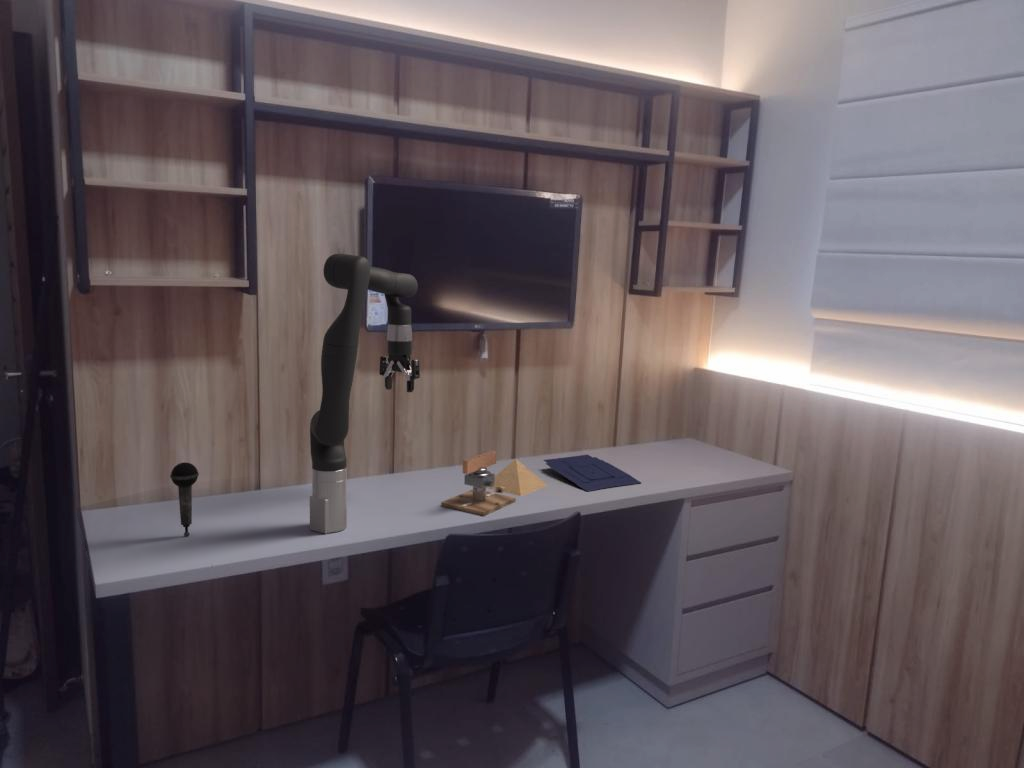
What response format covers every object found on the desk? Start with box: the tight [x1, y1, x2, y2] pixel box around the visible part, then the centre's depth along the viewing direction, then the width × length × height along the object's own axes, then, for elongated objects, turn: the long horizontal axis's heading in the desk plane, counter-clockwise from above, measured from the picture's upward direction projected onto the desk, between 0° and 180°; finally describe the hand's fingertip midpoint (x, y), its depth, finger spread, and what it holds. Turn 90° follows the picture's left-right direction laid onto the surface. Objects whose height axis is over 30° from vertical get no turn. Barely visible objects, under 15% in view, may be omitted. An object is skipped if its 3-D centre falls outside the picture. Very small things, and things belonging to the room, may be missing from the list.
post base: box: [440, 486, 517, 517], centre depth 232 cm, size 18×16×9 cm
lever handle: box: [462, 450, 497, 488], centre depth 231 cm, size 10×16×9 cm, turn 148°
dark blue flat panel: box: [543, 454, 642, 492], centre depth 267 cm, size 24×30×4 cm
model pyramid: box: [486, 458, 548, 497], centre depth 252 cm, size 17×17×10 cm
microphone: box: [169, 462, 200, 537], centre depth 195 cm, size 7×7×20 cm
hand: (399, 390), depth 232 cm, fingers open, 8 cm apart
